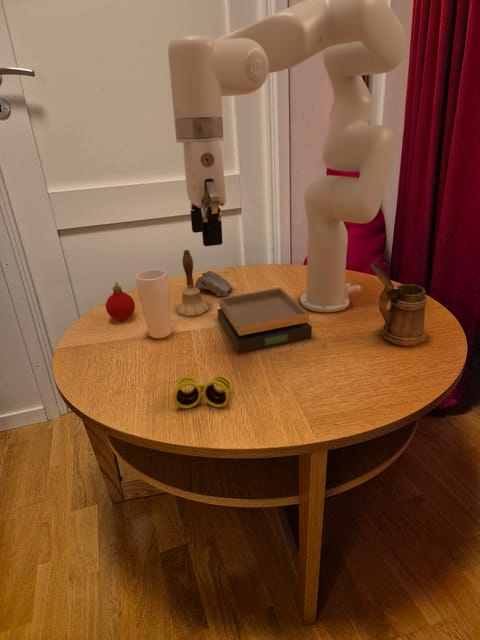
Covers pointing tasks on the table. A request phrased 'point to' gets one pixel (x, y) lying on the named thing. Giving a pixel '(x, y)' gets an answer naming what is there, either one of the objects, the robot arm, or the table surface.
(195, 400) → the opera glasses
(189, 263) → the hand bell
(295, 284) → the table surface
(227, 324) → the scale
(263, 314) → the scale pan
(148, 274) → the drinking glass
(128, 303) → the christmas ornament
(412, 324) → the wooden mug
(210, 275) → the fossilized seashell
